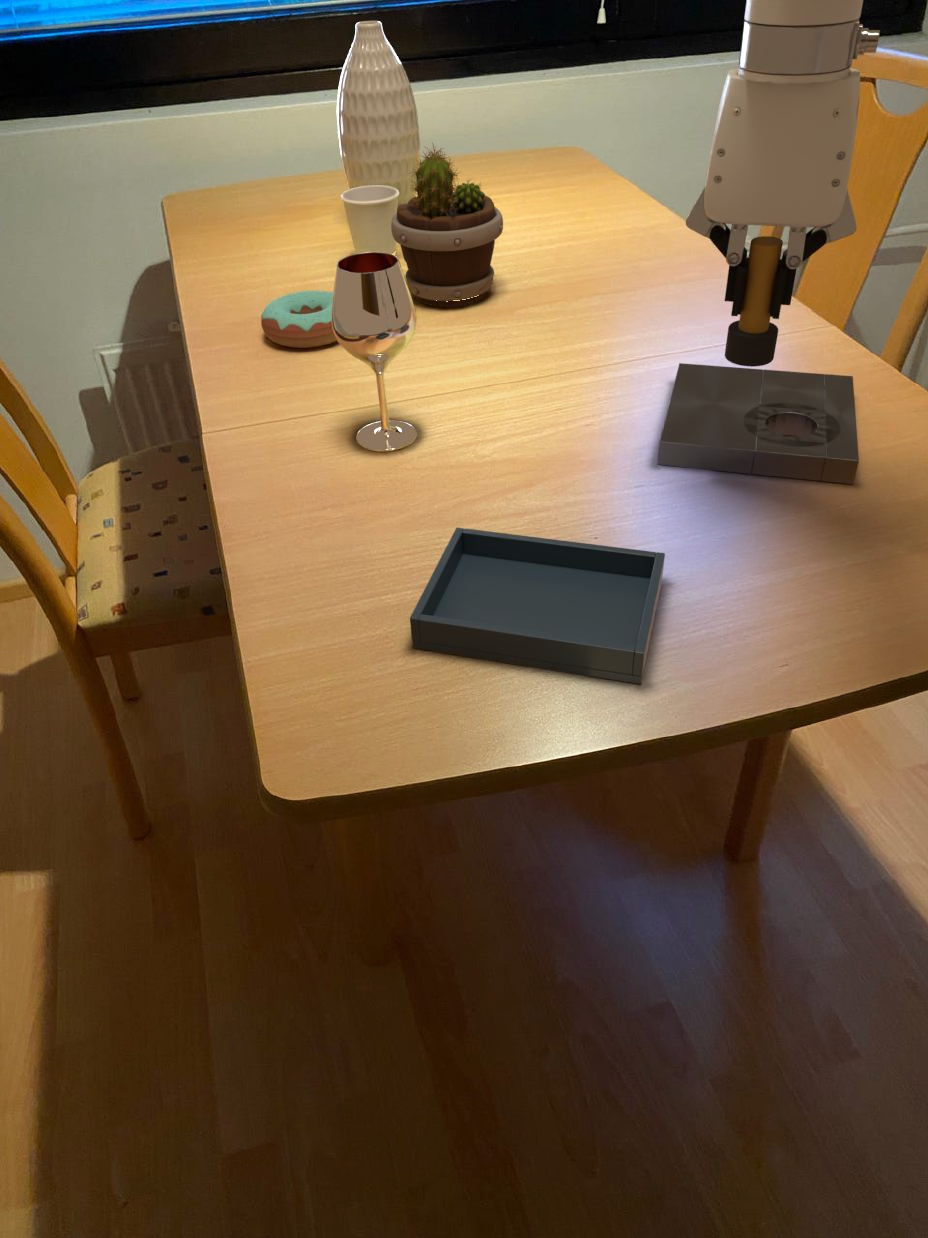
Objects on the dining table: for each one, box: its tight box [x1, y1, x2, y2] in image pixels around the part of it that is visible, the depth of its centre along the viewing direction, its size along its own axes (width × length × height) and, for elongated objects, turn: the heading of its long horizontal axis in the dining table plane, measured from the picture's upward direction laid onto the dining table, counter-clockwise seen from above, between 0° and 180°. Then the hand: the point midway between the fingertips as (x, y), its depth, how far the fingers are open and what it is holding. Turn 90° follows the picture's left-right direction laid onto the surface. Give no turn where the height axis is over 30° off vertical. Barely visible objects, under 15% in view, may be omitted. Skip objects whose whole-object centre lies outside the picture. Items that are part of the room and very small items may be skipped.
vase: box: [336, 20, 421, 207], centre depth 145 cm, size 13×13×28 cm
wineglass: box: [331, 252, 418, 453], centre depth 91 cm, size 8×8×18 cm
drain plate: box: [656, 362, 860, 485], centre depth 94 cm, size 18×18×2 cm
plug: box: [724, 235, 784, 368], centre depth 75 cm, size 4×4×10 cm
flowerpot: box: [391, 141, 504, 308], centre depth 121 cm, size 14×15×20 cm
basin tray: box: [409, 527, 666, 685], centre depth 73 cm, size 17×12×3 cm
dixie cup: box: [340, 185, 399, 254], centre depth 135 cm, size 8×8×10 cm
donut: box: [260, 290, 338, 349], centre depth 118 cm, size 12×12×4 cm
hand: (756, 309), depth 76 cm, fingers closed on plug, 2 cm apart
